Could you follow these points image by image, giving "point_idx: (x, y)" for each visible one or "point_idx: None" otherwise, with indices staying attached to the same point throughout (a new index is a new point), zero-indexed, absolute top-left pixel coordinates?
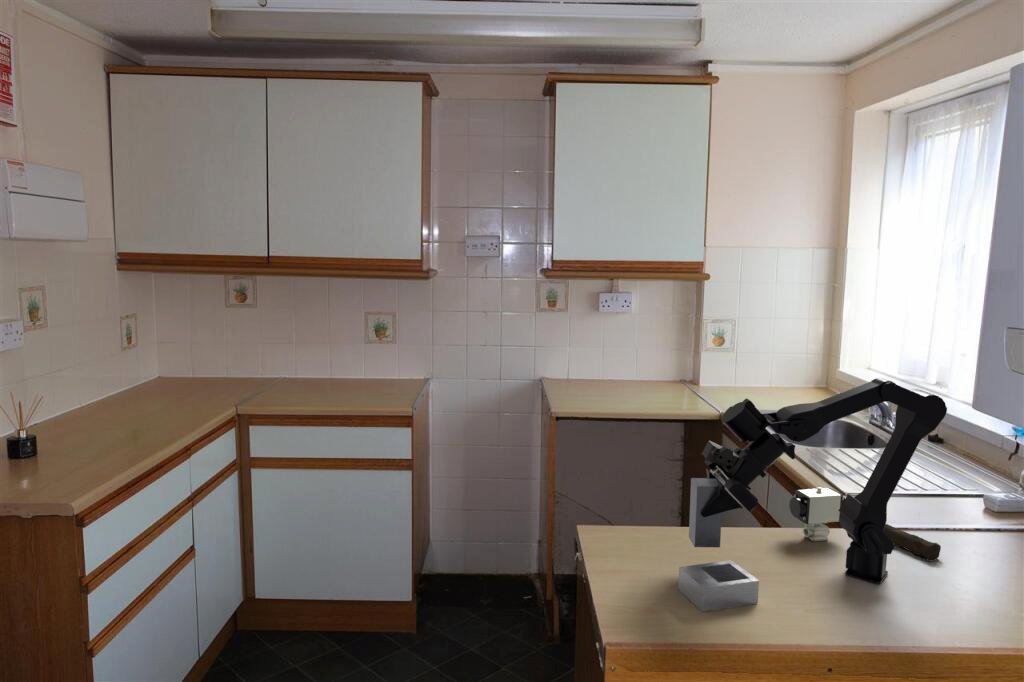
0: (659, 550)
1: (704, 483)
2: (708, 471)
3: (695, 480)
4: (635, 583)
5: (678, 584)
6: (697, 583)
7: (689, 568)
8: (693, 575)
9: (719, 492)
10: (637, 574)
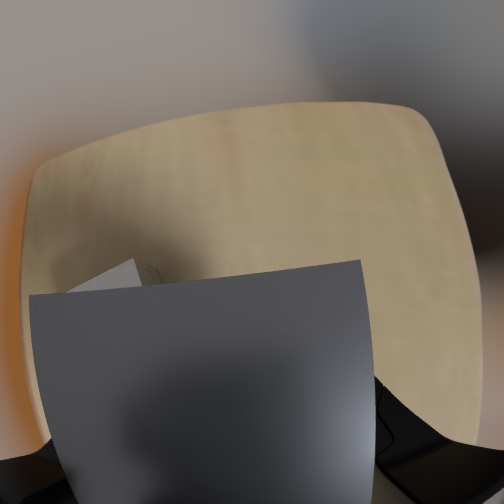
0: (361, 240)
1: (123, 422)
2: (474, 497)
3: (242, 319)
4: (176, 181)
5: (151, 266)
6: (68, 291)
7: (127, 284)
8: (94, 288)
9: (23, 458)
10: (218, 184)
